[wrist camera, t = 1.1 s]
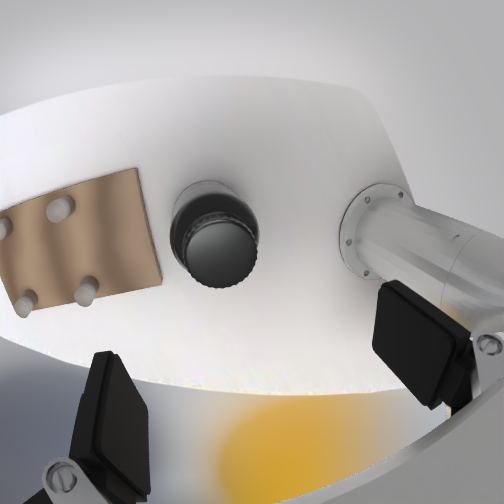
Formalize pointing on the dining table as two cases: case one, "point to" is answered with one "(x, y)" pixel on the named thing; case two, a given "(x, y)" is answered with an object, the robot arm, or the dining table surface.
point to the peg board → (78, 245)
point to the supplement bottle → (214, 234)
